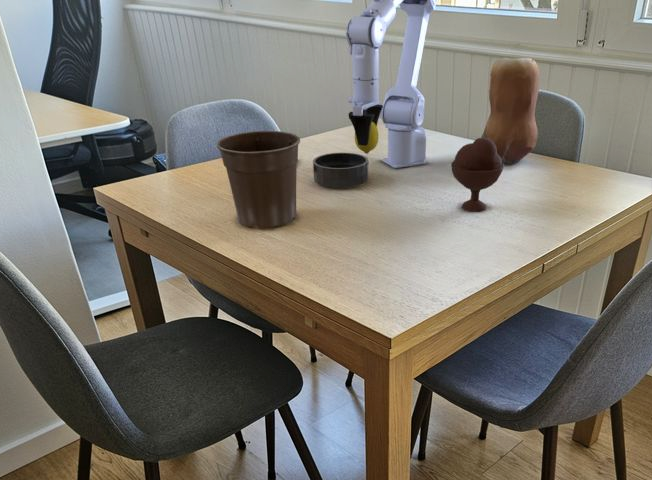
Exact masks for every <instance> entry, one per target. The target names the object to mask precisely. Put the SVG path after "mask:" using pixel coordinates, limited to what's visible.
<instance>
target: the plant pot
mask: <svg viewBox="0 0 652 480" xmlns="http://www.w3.org/2000/svg"><path fill="white" fill-rule="evenodd" d="M300 143H301V137H300V136H298V134H297V135H296V134H295V133H292V132H287V131H281V130H280V131H278V130H253V131H245V132H239V133H235V134H231V135H228V136H225V137H222V138H220V139H219V140H218V141H217V142H216V148H217V149H218V150H219V152H220V155H221V156H220V157H221V159H222V163H223V166H224V167H225V169H226V173H227V178H228V181H229V187H230V189H231V190H230V191H231V195H232V198H233V203H234V207H235V211H236V216H237V221H238V222H239V224H241V226H244V227H247V228H253V227H255V228H258V229H275V228H276V229H277V228H280V227H283V226H286V225H288V224H290V223H292V222H293V220H295V219H296V218H297V162H298V159H299V145H300Z"/></svg>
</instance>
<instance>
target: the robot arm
mask: <svg viewBox="0 0 652 480" xmlns="http://www.w3.org/2000/svg"><path fill="white" fill-rule="evenodd" d="M437 2H438V0H372V1H371V2H370V4H369V5H368V6H367V7H366V8H365V9H364V11H363V12H362V13H360V15H358V16H353V17H352V18H351V19H350V20H349V21H348V23H347V26H346V32H345V37H346V41H347V44H348V46H349V53H350V54H349V55H351V58H352V59H351V60H352V61H351V62H352V63H351V64H352V65H351V66H352V97H349V98H347V103H349V104H352V111H349V112H348V119H349V120H350V122H351V124H352V127H353V130H354V135H355V134H356V138H357V142H358V145H364V146H367V145H368V141H369V134H370V127H371V123H372V122H374V123H375V125H376V126H377V127H378V124H379V123H378V122H379V118H380V119H381V121H382V123H383V124H384V126H385V129H387V157H384V158H381V161H382V162H384V164H387V165H388V166H390V167H392V168H393V169H401V168H406V167H412V166H413V167H414V166H418V165H419V166H420V165H425V164H427V160H426V155H427V154H426V153H427V152H426V151H427V133H426V131H425V129H424V127H423V126H422V124H423V122H424V117H425V102H426V99H425V97H424V95H423V94H422V92H421V91H420V90H419V89H418V88H417V87H418V86H417V85H418V79H419V74H420V68H421V63H422V58H423V52H424V47H425V40H426V35H427V30H428V24H429V19H430V14H431V13H433V12H434V11H435V10H436V5H437ZM398 7H399V8H400V9H401V10H402V11H404V12H405V13H406V14H407V20H406V26H405V31H404V38H403V44H402V49H401V55H400V61H399V66H398V67H399V68H398V72H397V77H396V83H395V85H394V86H392V87H391V88H389V89H388V90H387V91H386V92H385V95H384V99H383V101H382V104H380V103H381V102H380V101H381V100H380V78H379V77H380V71H379V70H380V69H379V68H380V61H379V59H380V47H381V46H382V45H383V42H384V38H385V35H386V32H387V29H388V27H389V26H390V24H391V23H392V22H393V21H394V19H395V17H396V15H397V10H396V9H397V8H398Z"/></svg>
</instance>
